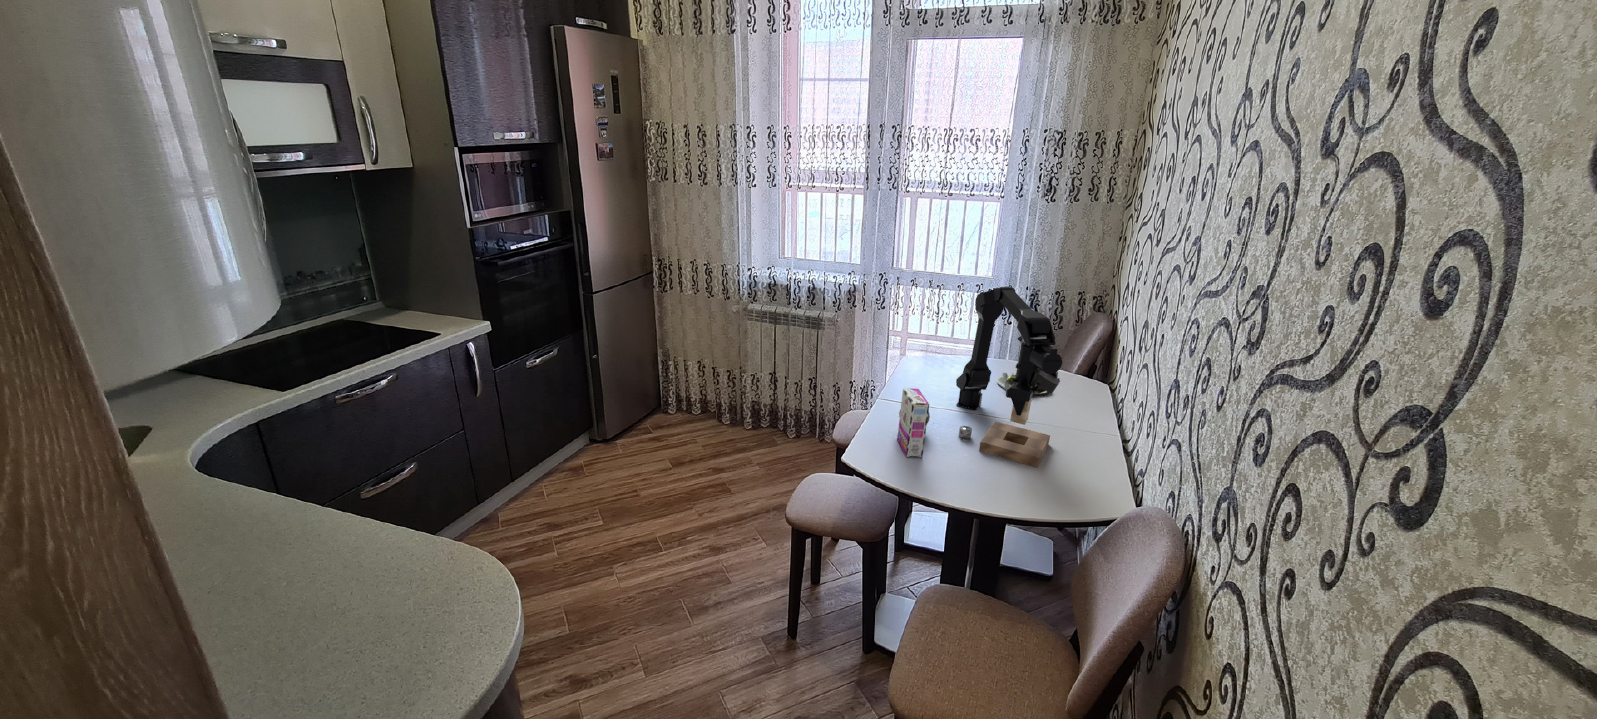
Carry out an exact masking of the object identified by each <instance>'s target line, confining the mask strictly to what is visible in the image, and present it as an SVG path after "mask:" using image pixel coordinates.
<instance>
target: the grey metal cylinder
mask: <svg viewBox="0 0 1597 719" xmlns="http://www.w3.org/2000/svg"><path fill="white" fill-rule="evenodd" d="M972 432H973V428H972V427H971V426H969V425H961V426H959V430H958V436H957V437H958V438H959V439H960V440H962V441H970V440H971V439H972Z"/></svg>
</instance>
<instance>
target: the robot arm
mask: <svg viewBox="0 0 1597 719" xmlns="http://www.w3.org/2000/svg"><path fill="white" fill-rule="evenodd" d="M974 303H975V307H974V308H975V311H976V314H977V316H978V321H977V327H976V332H975V337H974V342H973V347H972V353H971V358H970V360H969V361H967V363H966V364H965V365H964V367H963V370H962V373H961V375H960V376H958V377H957V378H956V380H955V381H956V382H955V385H956V387H957V388H959V395H958V401H957V403H956V406H958V407H961V408H964V409H969V410H973V411H976V410H977V409H978V408H979V407H980V406H981V405H982V402H983V401H982V399H983V393H982V390H983V391H985V390H986V391H987V387H988V386H989V383H990V382H991V375H992V371H991V369H990V368H989V366H988V364H987V363H988V358H989V354H990V348H991V343H992V339H993V333H994V328H995V324H996V321H997V320H998V318H1000V317H1001V316H1002V314H1003V312H1004V308H1005V309H1006V310H1007V312H1008V313H1010V315H1011V316H1012V317H1013V318H1014V319H1015V321H1016V323H1017V324H1016V328H1017V330H1018V332H1019V334H1020V336H1019V337H1017V341H1019V342H1021V343H1020V348H1019V354H1018V359H1017V362H1016V364H1015V369H1016V371H1015V375H1016V376H1015V378H1014V380H1013V382H1016V384H1012V385H1011V386H1009V388H1008V389H1007V391H1006V390H1005V391H1006V392H1005V397H1006V398H1009V399H1011V402H1012V406H1013V405H1014V408H1015V411H1016V415H1019V416H1021V413H1022V411H1023V408H1024V406H1025V403H1026V402H1029V401H1030V400H1031V401H1032V399H1033V398H1034V397H1033V395H1032V394H1033V392H1035V391H1036V390H1037V389H1038V388H1039V387H1041V388H1043V389H1044V390H1046V391H1047V392H1048V393H1049V395H1050V394H1053V393H1054V392H1055V390H1056V389H1057V387H1058V386H1059V384H1060V382H1061V380H1060V379H1061V378H1060V377H1058V376H1059V372H1058V371H1059V370H1060V369H1061V367H1062V366H1063V358H1062V357H1061V356H1062V355H1060V354H1058V348H1056V347H1055V346H1056V336H1055V333H1054V330H1053V326H1052V322H1051V320H1050V318H1049V317H1048V316H1046V315H1044V313H1042V312H1039V311H1035V310H1033V309H1032V308H1031V307H1030V306H1029V305H1028V304H1027V303H1026V302H1025V301H1024V299H1023V298H1021V297H1020V296H1019V295H1018V293H1017V292H1016V289H1015V288H1014V287H1012V286H998V287H996V288H994V289H991V290H987V291H981V292H980V293H978V294H977V296H976V297H975V302H974ZM1053 346H1054V347H1053ZM1036 384H1037V385H1038V386H1036Z"/></svg>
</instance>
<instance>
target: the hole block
mask: <svg viewBox="0 0 1597 719" xmlns="http://www.w3.org/2000/svg"><path fill="white" fill-rule="evenodd" d="M1050 438H1051V435H1050V434H1046V433H1042V432H1038V431H1035V430H1031V429H1027V428H1023V427H1019V426H1014V425H1012V424H1008V423H1003V422H1000V421H997V420H996V421H994V422H993V423H992V425H991V426H990V428H989V429H988V430H987V432H986V433H985V434H984V436H983V438H982V439H981V440H980V442H979V449H978V451H979V452H981V453H984V454H988V455H992V456H996V457H998V458H999V457H1000V458H1003V459H1005V460H1009V461H1014V462H1016V463H1020V464H1024V465H1027V466H1030V467H1031V466H1032V467H1035V468H1038V467H1039V464H1040V462H1041V461H1042V458H1044V454H1045V452H1046V450H1047V448H1048V446H1049V445H1050V444H1049V443H1050Z"/></svg>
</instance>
